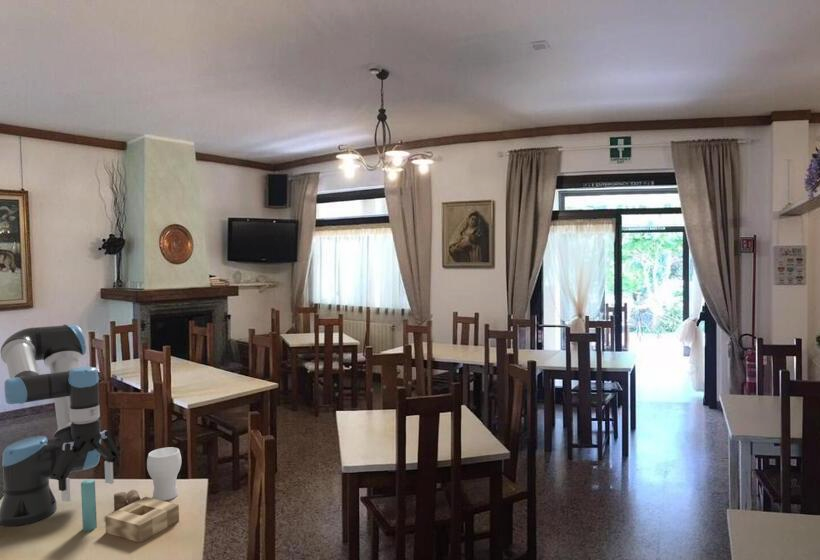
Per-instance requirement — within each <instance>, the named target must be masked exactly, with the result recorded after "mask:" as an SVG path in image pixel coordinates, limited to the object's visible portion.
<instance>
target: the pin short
mask: <svg viewBox="0 0 820 560" xmlns="http://www.w3.org/2000/svg"><path fill="white" fill-rule="evenodd" d="M127 493H128V492H126V491H120V492H117V493H115V494H114V495H113V505H114V506H113V507H114V511H113V512H115V511H117V510H119V509H121V508H123V507H125V506H127V505H128V501H127Z"/></svg>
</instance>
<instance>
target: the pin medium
mask: <svg viewBox="0 0 820 560" xmlns="http://www.w3.org/2000/svg"><path fill="white" fill-rule="evenodd" d="M126 493H127V505H130V504H132V503H134V502H136V501H138V500H140V499H141V497H140V494H139V491H138V490H135V489H130V490H129V491H128V492H126Z"/></svg>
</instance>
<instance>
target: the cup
mask: <svg viewBox="0 0 820 560" xmlns="http://www.w3.org/2000/svg"><path fill="white" fill-rule="evenodd" d="M181 468H182V455H181V451H180V449H179V448H178V447H173V446H171V447H169V446H168V447H161V448H157V449H156V448H155V449H154V450H152V451H150V452H149V453H148V454H147V459H146V469H147V472H148V475H149V476H150V479H152V481H153V484H152V485H153V493H152V498H153V499H157V500H161V501H165V502H166V501H169V500H172V499H174V498H176V497H177V496H178V495H179V493H178V487H177V477H178V474H179V472H180V470H181Z"/></svg>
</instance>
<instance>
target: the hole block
mask: <svg viewBox="0 0 820 560" xmlns="http://www.w3.org/2000/svg"><path fill="white" fill-rule="evenodd" d="M179 508H180V507H179V504H177V503H173V502H168V501H166V500H165V501H161V500H157V499H153V497H148V496H145V497H142V498H140V500H138V501H136V502H134V503H132V504H130V505H129V504H127V506H125V507H123V508H121V509H119V510H117V511H113V512H111V513H108V514H107V515H105V518H104V519H105V520H104V521H105V533H106V534H109V535H112V536H116V537H119V538H123V539H126V540H129V541H134V542H135V543H143V541H145V540H148V539H149V538H151V537H153V536H154V535H156V534H158V533H159V532H161V531H163V530H166V529H167V528H169V527H171V526H173V525H174V524H176V523H177V522H179V521H180V512H179V510H180V509H179Z"/></svg>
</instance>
